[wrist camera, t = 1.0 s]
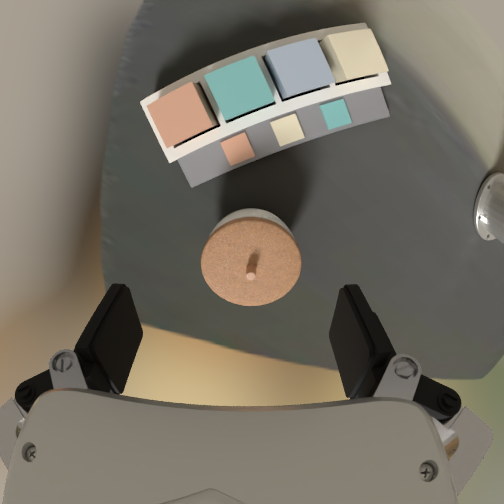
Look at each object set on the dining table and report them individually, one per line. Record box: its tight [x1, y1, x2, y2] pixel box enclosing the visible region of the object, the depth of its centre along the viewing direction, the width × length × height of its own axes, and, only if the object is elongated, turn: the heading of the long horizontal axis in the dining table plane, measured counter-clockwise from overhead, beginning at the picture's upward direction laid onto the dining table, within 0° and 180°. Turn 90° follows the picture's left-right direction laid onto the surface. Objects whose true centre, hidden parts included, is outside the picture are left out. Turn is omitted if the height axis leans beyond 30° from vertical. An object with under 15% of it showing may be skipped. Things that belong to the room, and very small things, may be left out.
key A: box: [147, 82, 219, 148], centre depth 24 cm, size 5×5×5 cm
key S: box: [264, 38, 336, 99], centre depth 22 cm, size 5×5×5 cm
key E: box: [319, 29, 389, 83], centre depth 20 cm, size 5×5×5 cm
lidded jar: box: [201, 208, 302, 306], centre depth 31 cm, size 11×11×9 cm
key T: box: [204, 56, 275, 120], centre depth 23 cm, size 5×5×5 cm
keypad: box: [140, 23, 391, 188], centre depth 25 cm, size 26×12×4 cm, turn 113°
